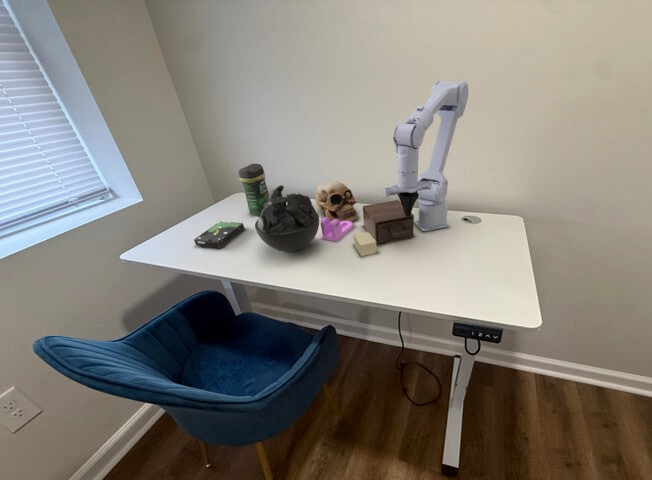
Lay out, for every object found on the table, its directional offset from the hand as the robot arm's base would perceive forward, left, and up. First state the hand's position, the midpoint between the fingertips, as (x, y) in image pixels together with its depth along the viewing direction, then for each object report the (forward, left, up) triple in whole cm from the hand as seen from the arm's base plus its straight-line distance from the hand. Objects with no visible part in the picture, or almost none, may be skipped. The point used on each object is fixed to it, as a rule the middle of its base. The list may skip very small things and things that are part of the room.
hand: (407, 215), depth 99 cm
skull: (+16, -32, -10) cm, 37 cm away
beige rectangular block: (+14, -2, -10) cm, 17 cm away
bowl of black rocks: (+36, -12, -10) cm, 39 cm away
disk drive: (+60, -30, -10) cm, 68 cm away
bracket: (+19, -17, -10) cm, 27 cm away
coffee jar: (+45, -48, -10) cm, 67 cm away
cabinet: (+3, -10, -10) cm, 15 cm away
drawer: (+3, -6, -9) cm, 11 cm away
